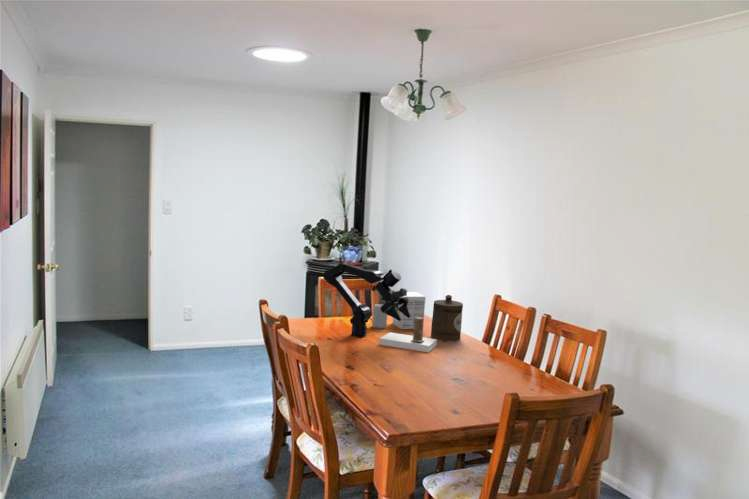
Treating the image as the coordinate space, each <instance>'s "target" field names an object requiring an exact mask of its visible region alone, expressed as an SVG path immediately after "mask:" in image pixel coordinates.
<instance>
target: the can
mask: <svg viewBox="0 0 749 499" xmlns="http://www.w3.org/2000/svg"><path fill="white" fill-rule="evenodd" d="M383 305H384V304H381V303H380V304H379V303H378V304H377V303H376V304H374V307H373V308H372V324H371V325H372V328H374V329H379V330H383V329H385V328H386V327H387V323H388V321H387V320H388V315H387V314H385V313H382V311H381V307H382V306H383Z"/></svg>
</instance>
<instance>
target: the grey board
mask: <svg viewBox="0 0 749 499" xmlns="http://www.w3.org/2000/svg"><path fill="white" fill-rule="evenodd" d="M422 339H423V341H421V343H415V342H414V341H413V335H411V334H410V335H409V334H403V333H396V332H388V333H386V334H384V335H383V336H382V337H379V345H380V346H385V347H392V348H399V349H405V350H406V349H407V350H411V351H419V352H424V353H429V352H431V351H432V350H433V349H435V348H436V347H437V343H438V342H437V341H438V340H437V339H433V338H432V337H431V338H430V337H423V338H422Z"/></svg>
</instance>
